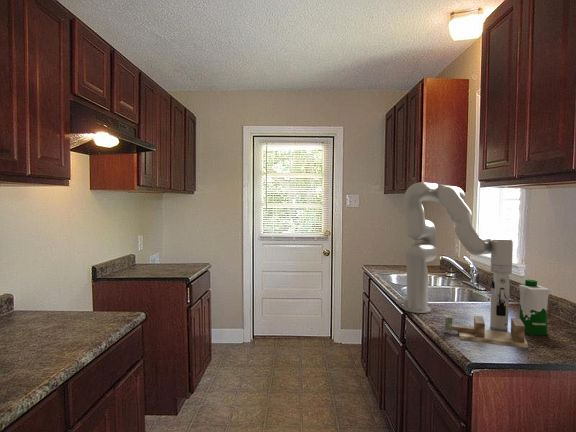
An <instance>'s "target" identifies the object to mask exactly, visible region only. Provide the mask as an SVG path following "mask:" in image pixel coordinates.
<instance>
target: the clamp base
mask: <svg viewBox="0 0 576 432" xmlns="http://www.w3.org/2000/svg"><path fill="white" fill-rule="evenodd" d="M458 332H459V339H460V340H467V341H473V342H479V343H480V342H481V343H488V344H494V345H495V344H496V345H504V346H510V347H511V346H512V347H518V348H525V349H526V348H527V349H528V348H529V344H528V341H527V339H526V338H525V334H526V332H525V326H524V324H523V323H522V321H521V319H519V318H515V317H511V318H510V332H508V331H505V332H501V331H495V330H492V329H485V335H484V337H479V336H475V333H471V332H463V331H458Z"/></svg>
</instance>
